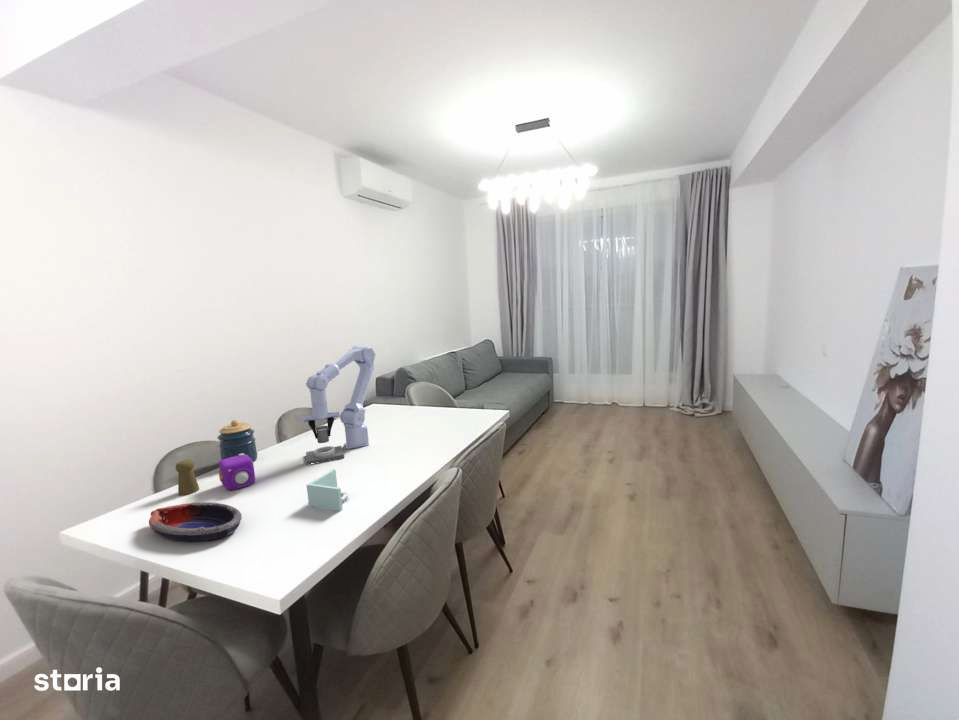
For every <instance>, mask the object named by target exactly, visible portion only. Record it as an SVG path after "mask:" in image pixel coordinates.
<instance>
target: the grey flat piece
mask: <svg viewBox="0 0 959 720" xmlns="http://www.w3.org/2000/svg"><path fill="white" fill-rule="evenodd" d="M305 457H306V458H305V459H306V465H307V464H311V463H316V464H318V463H317V462H321V463H324V462H323V461H327V462H330V461H329V460H332V461H335V460H334V459H337V460H341V459H340V458H342V459H344V458H345V453H344V451H343V447H342V445H337V446H328V445H326V446H321V447H318V448H316V449H314V450H309V451H306V452H305ZM311 465H312V464H311Z"/></svg>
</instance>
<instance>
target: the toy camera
mask: <svg viewBox="0 0 959 720" xmlns="http://www.w3.org/2000/svg"><path fill="white" fill-rule="evenodd" d="M255 474H256V473H255V466H254V462H253V461H252V459H251V458H250V457H249V456H248V455H246V454H244V453H241V454H239V455H238V456H234V457H230V458H227V459H223V460H221V459H220V461H219V462H218V475H219V476H218V477H219V482H221V484H222V486H223V487H224V489H225V490H226V491H235V490H237V489H241V488H243V487H244V488H245V487H247V486H250V485H252V484H254V483H255V482H256V475H255Z"/></svg>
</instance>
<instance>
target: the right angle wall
mask: <svg viewBox="0 0 959 720" xmlns="http://www.w3.org/2000/svg"><path fill="white" fill-rule="evenodd" d="M337 480H338V479H337V471H336V469H331V470H329V471H328V472H326V473H324V474H322V475H321V476H319V477H318V478H316V479H314V480H312V481H311V482H309V483H307V484H306V492H307V493H306V494H307V499H308V506H309V507H312V506H313V507H315V508H319V509H325V510H332V511H339V512H342V511H343V510H344V509H343V504H345V503H347V502H349V499H350V498H349V496H350V495H349V493H348V492H347V491H341V487H338V481H337ZM313 507H312V508H313Z"/></svg>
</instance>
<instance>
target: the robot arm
mask: <svg viewBox="0 0 959 720" xmlns="http://www.w3.org/2000/svg"><path fill="white" fill-rule="evenodd" d="M375 358H376V352H375V350H374V349H373V347H371V346H358V345H356V346H355V345H354V346H353V347H351V348H350V349H348V350H347V352H346V353H344V355H343V356H341V357H340V358H339V359H338V360H337V361H336V362H335V363H334V364H333V363H327V364H325V365H324V366H325V367H323V369H320V370H319V371H317V372H316V373H315V374H312V375H309V377H308V378H307V381H306V382H305V385H306V387H307V388H308V390H309V393H310V401H311V411H312V414H311V415H306V416H302V417H301V418H300V420H301V421H300V422H301V424H304V423H307V422H308V423H307V424H308V426H309V427H310V428H311V430H312V432H313V434H314V439H317V432H316V427H317V426H316V421H322V420H326V421H327V426H328V435H329V437H331V433H332V427H333V424H334V422H335V418H339V419H340V422H341V423H342V424H343V427H344V433H345V442H344V446H345V448H346V450H349V449H350V450H351V449H355V448H362V447H365V446H369V445H370V442H369V433H368V432H369V431H368V427H367V423H364V422H365V419H366V416H365V415H366V409H365V408H364V401H365V399H366V395H367V391H368V387H369V385H370V382H371V378H372V375H373V372H374V368H375V364H374V363H375ZM353 361H354V362H355V364H356V365H357V366H358V367H359V373H358V376H357V379H356V382H355V385H354V388H353V392H352V395H351V398H350V402H349V403H347V404H346V405H345V407H344V408H343V411H341V413H340V411H335V412H329V411H328V409H329V408H328V401H327V400H328V399H327V392H326V391H327V390H326V389H327V387H328V385H329V383H330V382H331V381H332V380H334V379H335V378H336V377H337V376H339V375H340V371H341V370H342V369H343V368H345V367H346V366H348V365H349V364H351V363H352V362H353Z"/></svg>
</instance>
